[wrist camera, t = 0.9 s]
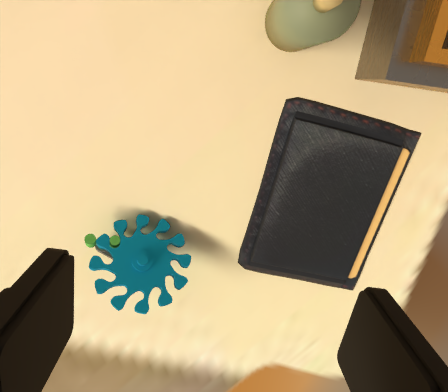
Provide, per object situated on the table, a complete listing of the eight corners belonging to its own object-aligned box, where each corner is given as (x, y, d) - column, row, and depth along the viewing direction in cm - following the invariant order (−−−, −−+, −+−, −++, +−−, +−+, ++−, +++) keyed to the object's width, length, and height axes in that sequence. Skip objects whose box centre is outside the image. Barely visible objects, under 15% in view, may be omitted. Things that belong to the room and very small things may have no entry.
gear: (208, 241, 36) (162, 332, 31) (196, 254, 41) (155, 334, 36) (116, 190, 35) (55, 275, 30) (116, 210, 40) (64, 285, 36)
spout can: (270, -14, 29) (302, -63, 19) (325, -5, 30) (385, -48, 20) (260, 47, 31) (285, 33, 21) (313, 55, 32) (362, 45, 21)
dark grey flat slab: (291, 92, 31) (434, 135, 33) (286, 91, 33) (423, 132, 35) (231, 271, 38) (355, 299, 40) (230, 262, 39) (349, 290, 41)
